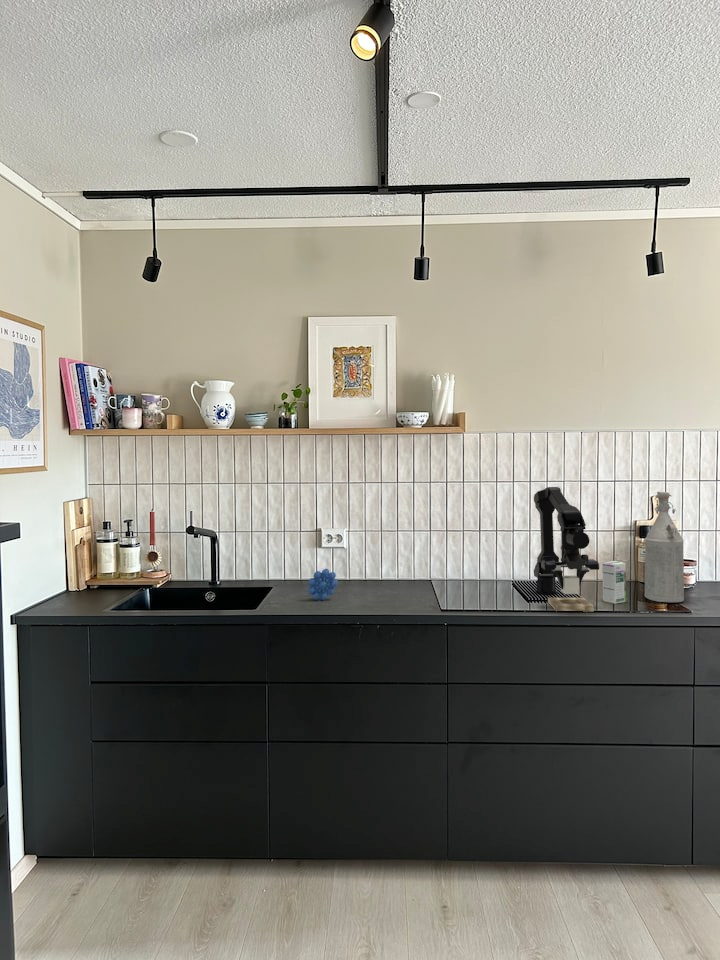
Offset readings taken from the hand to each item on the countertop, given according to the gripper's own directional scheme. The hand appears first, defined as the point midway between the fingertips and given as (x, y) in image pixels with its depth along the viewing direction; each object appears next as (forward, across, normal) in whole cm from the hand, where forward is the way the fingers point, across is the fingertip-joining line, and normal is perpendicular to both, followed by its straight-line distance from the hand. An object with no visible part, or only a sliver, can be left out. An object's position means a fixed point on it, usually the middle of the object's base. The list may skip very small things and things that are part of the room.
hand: (569, 588), depth 222 cm
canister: (+7, +38, +12) cm, 40 cm away
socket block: (+6, 0, 0) cm, 7 cm away
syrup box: (+7, +18, +8) cm, 21 cm away
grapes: (+7, -89, +14) cm, 90 cm away
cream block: (+1, 0, 0) cm, 1 cm away
